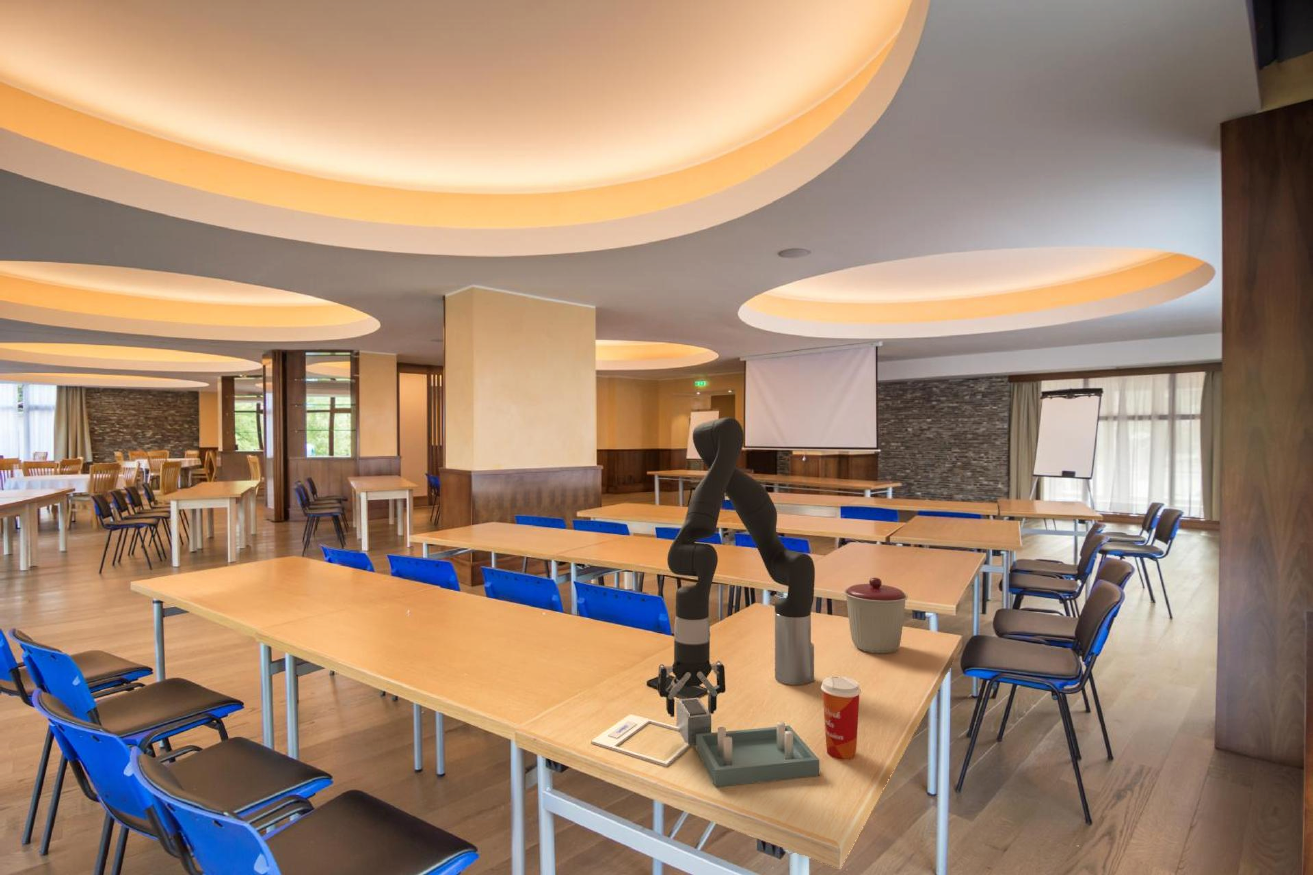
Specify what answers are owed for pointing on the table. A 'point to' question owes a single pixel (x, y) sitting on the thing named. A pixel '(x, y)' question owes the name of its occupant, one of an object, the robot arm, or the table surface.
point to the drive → (692, 719)
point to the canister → (876, 616)
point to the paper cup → (841, 716)
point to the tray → (755, 755)
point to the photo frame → (626, 730)
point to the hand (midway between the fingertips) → (691, 713)
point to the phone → (684, 691)
